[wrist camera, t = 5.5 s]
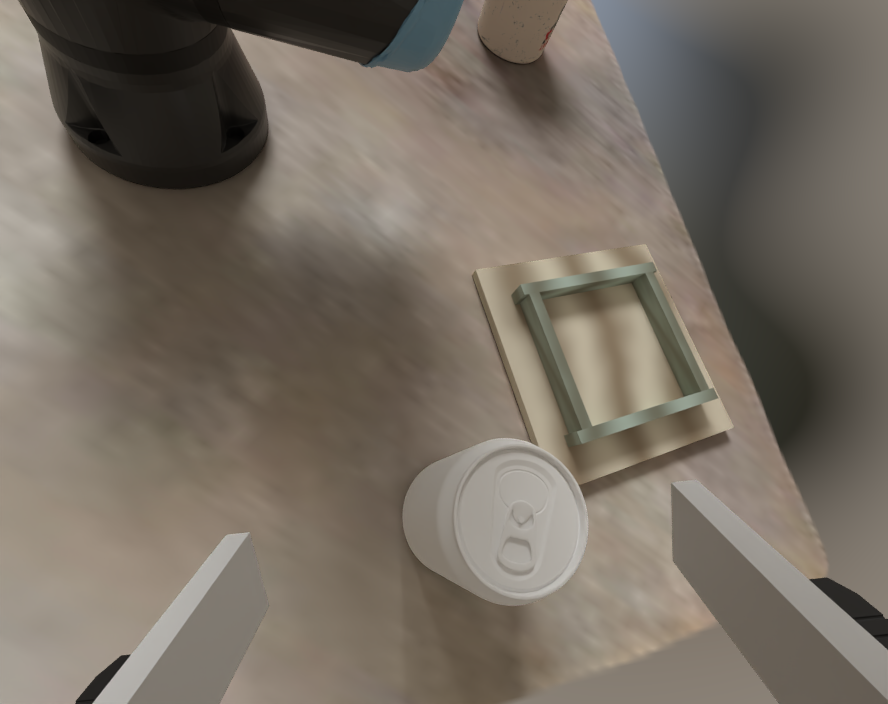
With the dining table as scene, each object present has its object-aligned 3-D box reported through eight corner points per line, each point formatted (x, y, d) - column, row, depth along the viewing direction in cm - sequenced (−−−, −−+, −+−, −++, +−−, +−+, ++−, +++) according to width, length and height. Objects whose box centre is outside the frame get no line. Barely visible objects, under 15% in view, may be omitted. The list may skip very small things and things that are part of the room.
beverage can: (512, 473, 34) (602, 456, 23) (495, 586, 31) (590, 628, 20) (415, 446, 33) (462, 415, 22) (387, 561, 29) (425, 592, 19)
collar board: (549, 494, 34) (569, 493, 31) (472, 275, 39) (483, 257, 36) (724, 429, 41) (753, 423, 38) (639, 249, 46) (658, 233, 43)
